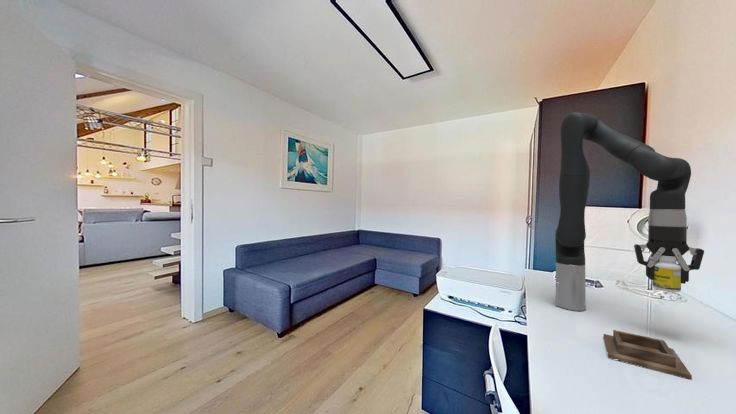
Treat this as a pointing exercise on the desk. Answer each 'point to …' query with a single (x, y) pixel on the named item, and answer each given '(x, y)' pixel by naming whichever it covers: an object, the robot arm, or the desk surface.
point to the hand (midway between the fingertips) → (666, 280)
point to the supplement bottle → (667, 274)
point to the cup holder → (645, 353)
